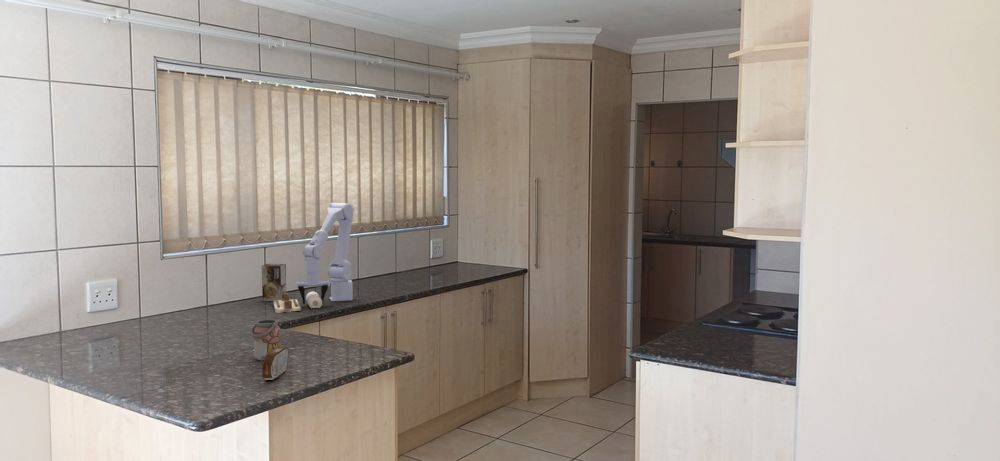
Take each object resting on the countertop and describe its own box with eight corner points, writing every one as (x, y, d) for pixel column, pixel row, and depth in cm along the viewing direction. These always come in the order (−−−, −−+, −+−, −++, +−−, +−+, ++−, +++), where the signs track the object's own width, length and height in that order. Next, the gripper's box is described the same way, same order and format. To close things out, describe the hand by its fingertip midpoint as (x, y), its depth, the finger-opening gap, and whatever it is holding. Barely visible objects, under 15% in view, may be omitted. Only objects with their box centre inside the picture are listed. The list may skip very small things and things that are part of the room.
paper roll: (317, 304, 325) (319, 292, 324) (321, 310, 313) (323, 297, 313) (305, 303, 323) (307, 290, 322) (307, 308, 311) (309, 295, 311)
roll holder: (296, 302, 325) (296, 292, 325) (300, 311, 306) (300, 301, 306) (273, 303, 322) (273, 293, 321) (275, 313, 303) (275, 302, 302)
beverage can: (263, 364, 229) (262, 326, 228) (245, 359, 233) (244, 322, 232) (286, 357, 237) (285, 321, 236) (268, 353, 241) (268, 317, 240)
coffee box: (286, 298, 333) (286, 263, 331) (281, 301, 327) (280, 265, 325) (267, 298, 334) (267, 263, 332) (261, 300, 328) (261, 265, 326)
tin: (280, 369, 224) (280, 342, 223) (290, 369, 224) (290, 342, 223) (261, 384, 209) (260, 355, 208) (271, 384, 209) (271, 356, 208)
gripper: (296, 274, 310) (296, 305, 311) (331, 272, 315) (331, 303, 316) (294, 271, 317) (295, 302, 318) (328, 270, 322) (329, 300, 323)
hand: (313, 303), depth 318 cm, fingers open, 7 cm apart
